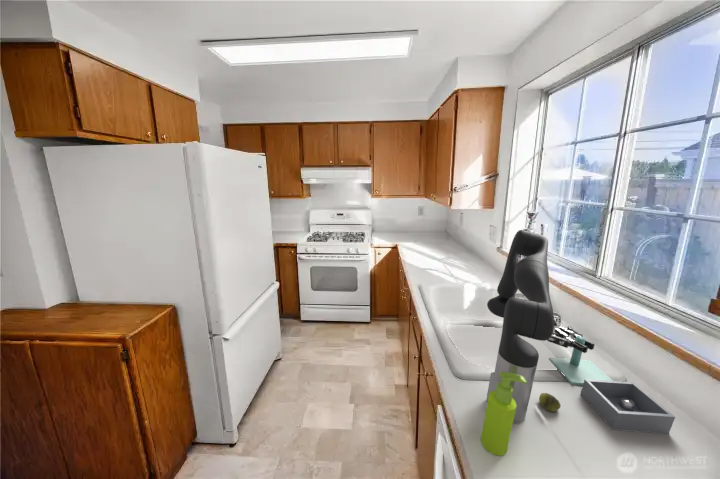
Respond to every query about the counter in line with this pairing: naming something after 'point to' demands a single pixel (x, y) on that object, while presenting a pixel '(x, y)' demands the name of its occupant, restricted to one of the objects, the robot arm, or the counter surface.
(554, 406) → the lime
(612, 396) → the tub
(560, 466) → the counter surface
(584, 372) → the lid
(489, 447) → the soap dispenser
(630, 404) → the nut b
